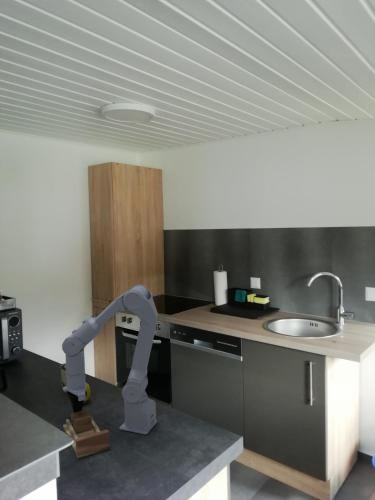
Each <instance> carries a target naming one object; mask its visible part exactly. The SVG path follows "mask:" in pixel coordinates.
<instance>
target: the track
mask: <svg viewBox="0 0 375 500" xmlns="http://www.w3.org/2000/svg"><path fill="white" fill-rule="evenodd" d="M62 427H63V430H64V432H65V434H66V433H67V434H68V435H69V436H71V437H72V438H73V439H74V443H73V444H72V445H71V447H72V449H73V451H74V454H75V456H76V459H78V460H79V459H82V458H85V457H88V456H92V455H94V454H97V453H101V452H104V451H106V450H107V451H108V450H110V448H111V447H110V431H109V430H108V428H107V429H103V430H101V429H100V428H99V426H98V425H97V423H96V422H95V420H94V419H93V417H92V429H90V430H87V431H83V432H80V433H75V431H74V429H73V427H72V425H71V420H70V419H69V418H67V419H65V424H63V425H62ZM67 434H66V435H67Z"/></svg>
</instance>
